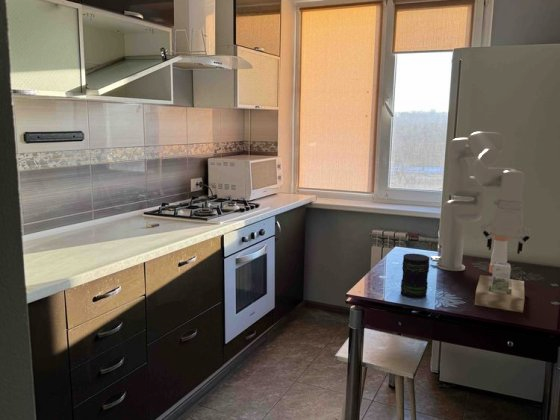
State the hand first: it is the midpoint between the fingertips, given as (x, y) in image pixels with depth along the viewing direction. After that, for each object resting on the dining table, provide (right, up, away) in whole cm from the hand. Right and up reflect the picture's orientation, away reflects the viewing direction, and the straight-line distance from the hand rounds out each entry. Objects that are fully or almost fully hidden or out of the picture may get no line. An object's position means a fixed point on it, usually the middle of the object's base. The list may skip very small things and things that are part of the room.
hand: (503, 251), depth 184 cm
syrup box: (-1, -19, +3) cm, 20 cm away
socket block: (+2, -19, +8) cm, 20 cm away
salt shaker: (+16, -13, +43) cm, 48 cm away
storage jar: (-31, -18, +9) cm, 36 cm away
